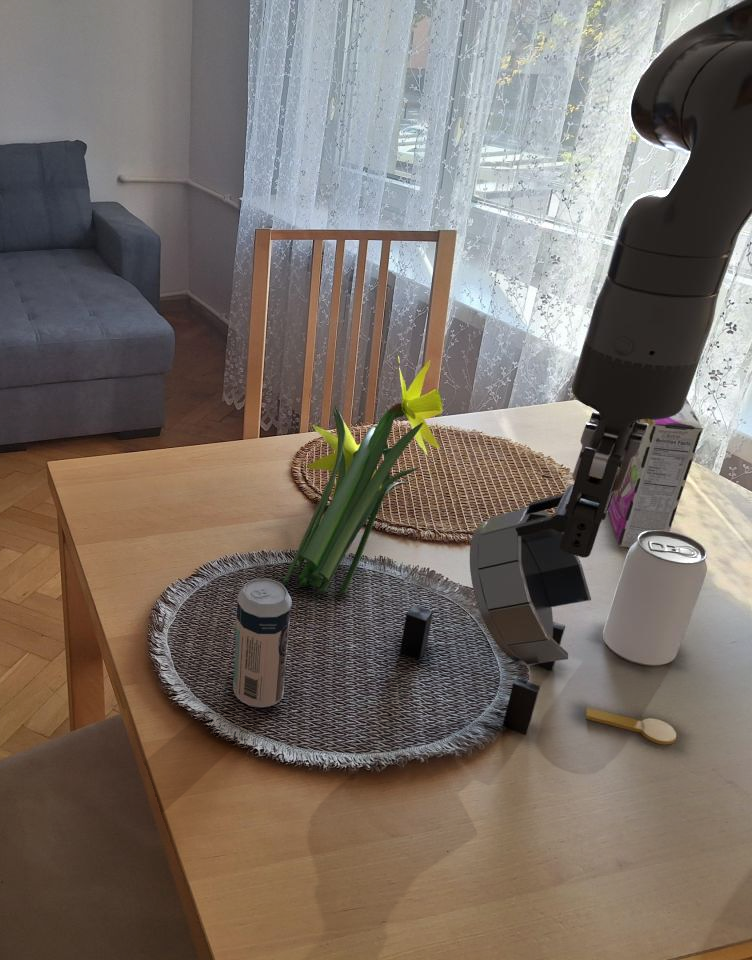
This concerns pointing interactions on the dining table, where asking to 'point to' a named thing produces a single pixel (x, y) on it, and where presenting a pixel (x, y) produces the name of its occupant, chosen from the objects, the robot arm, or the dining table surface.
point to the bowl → (526, 578)
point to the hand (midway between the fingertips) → (582, 533)
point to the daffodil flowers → (359, 485)
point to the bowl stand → (521, 691)
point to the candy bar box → (655, 477)
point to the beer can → (261, 642)
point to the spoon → (636, 725)
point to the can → (655, 597)
